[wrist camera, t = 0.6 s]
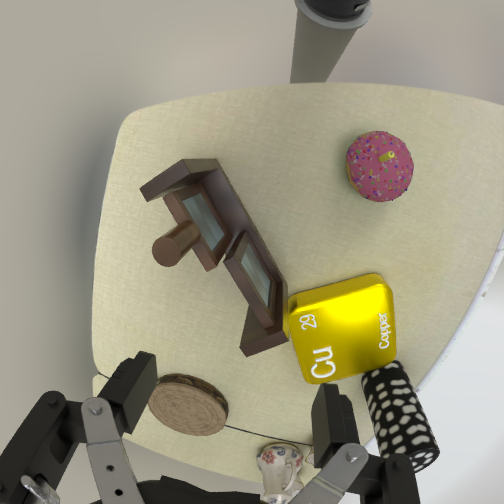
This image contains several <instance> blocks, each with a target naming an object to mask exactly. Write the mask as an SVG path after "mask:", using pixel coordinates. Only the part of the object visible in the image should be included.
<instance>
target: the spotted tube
mask: <svg viewBox="0 0 504 504" xmlns="http://www.w3.org/2000/svg"><path fill="white" fill-rule="evenodd" d="M362 387H363V391H364V394H365V398H366V401H367V405H368V409H369V413H370V416H371V420H372V424H373V428H374V432H375V436H376V440H377V444H378V449H379V453H380V457H384V458H387V457H388V456H390V455H391V454H394V453H402V454H405V455H407V456H408V457H409V458H410V459H411V461H412V463H413V468H414V473H417V472H419V471H421V470H423V469H424V468H426V467H427V466H429V465H430V464H432V463H433V462H434V461H435V460H436V459H437V457H438V456H439V454H440V450H439V448H438V445H437V443H436V440H435V437H434V435H433V433H432V430H431V428H430V425H429V423H428V420H427V418H426V416H425V413H424V411H423V409H422V406H421V404H420V402H419V399H418V397H417V395H416V393H415V391H414V388H413V386H412V384H411V382H410V380H409V378H408V376H407V373H406V371H405V369H404V367H403V365H402V364H401V363H400V362H399V361H396V360H394V361H393V362H392V363H390V364H389V365H387V366H385V367H382V368H379V369H375V370H372V371H369V372H365V374H364V375H363V377H362Z"/></svg>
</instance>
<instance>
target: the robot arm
mask: <svg viewBox="0 0 504 504" xmlns="http://www.w3.org/2000/svg"><path fill="white" fill-rule="evenodd" d="M304 2H305V4H306V5H307V7H308V8H309V9H310V10H311V11H312V12H314V13H315V14H316V15H318V16H320V17H322V18H324V19H327V20H330V21H334V22H349V21H353V20H355V19H357V18H359V17H360V16H361V15H362V13H363V12H364V10H365V7H366V6H368V4H369V3H370V2H369V0H304ZM157 378H158V376H157V366H156V356H155V355H154V354H151V353H147V352H144V351H139V352H138V354H137V355H136V357H135V358H134V359H131V358H128V359H126V360H124V361H123V362H121V363H120V365H119V366H118V367H117V369H116V371H115V372H114V373H113V374H112V377H110V379H109V380H108V382H107V383H106V384H105V386H104V387H103V389H102V390H101V392H100V393H99V394H98V396H97V397H92V398H88V399H87V400H85V401H84V402H74V401H67V400H66V399H65V397H64V395H63V394H62V393H60V392H58V391H48V392H46V393H44V394H43V395H42V396H41V397H40V399H39V400H38V402H37V403H36V404H35V406H34V407H33V408H32V410H31V411H30V413H29V414H28V416H27V417H26V419H25V420H24V421H23V423H22V424H21V426H20V427H19V428H18V430H17V431H16V433H15V434H14V436H13V437H12V439H11V440H10V442H9V443H8V445H7V447H6V448H5V449H4V451H3V453H2V454H1V456H0V504H60V498H59V496H58V494H57V493H56V488H57V486H58V484H59V482H60V480H61V478H62V476H63V474H64V472H65V470H66V468H67V466H68V464H69V462H70V460H71V458H72V456H73V454H74V452H75V450H76V448H77V446H78V444H79V443H87V445H86V447H87V452H88V456H89V460H90V464H91V468H92V471H93V475H94V478H95V482H96V485H97V488H98V491H99V494H100V497H101V499H100V500H98V501H95V502H93V503H91V504H270V503H268V502H265V501H263V500H260V494H252V493H244V492H237V491H235V492H234V491H233V492H208V491H205V490H202V489H200V488H198V487H196V486H194V485H192V484H189V483H187V482H185V481H181V480H177V479H173V478H170V477H167V476H163V475H162V477H161V479H160V480H147V481H142V482H138V481H137V479H136V476H135V474H134V472H133V469H132V467H131V464H130V462H129V459H128V456H127V453H126V450H125V448H124V445H123V442H122V439H121V437H122V435H123V433H124V432H126V433H128V434H132V432H133V430H134V428H135V426H136V424H137V422H138V421H139V419H140V417H141V415H142V413H143V411H144V409H145V407H146V405H147V403H148V401H149V399H150V397H151V395H152V393H153V391H154V389H155V387H156V384H157ZM311 418H312V433H313V451H314V468H321V469H322V470H321V471H320V472H319V473H318V474H317V475H316V476H315V477H314V478H313V479H312V480H311V481H310V482H309V483H308V484H307V485H306V486H305V487H304V488H303V489H302V490H301V491H300V492H299V493H298V494H297V495H296V496H295V497H294V498H293V499H292V500H291V501H290V502H289V503H288V504H338V502H339V501H340V500H341V499H342V497H343V496H344V493H345V492H350V493H355V494H359V495H360V504H420V498H419V493H418V487H417V482H416V478H415V473H414V468H413V463H412V461H411V459H410V458H409V457H408V456H407V455H405V454H402V453H394V454H391V455H390V456H388V457H387V458H384V457H379V456H374V455H371V454H369V453H368V452H367V450H366V449H365V448H364V447H363V446H362V445H360V441H359V436H358V431H357V426H356V421H355V419H354V418H355V416H354V412H353V407H352V403H351V401H350V400H349V398H348V397H347V396H346V395H339V389H338V385H337V384H328V383H321V385H320V387H319V390H318V392H317V395H316V397H315V400H314V402H313V405H312V411H311Z"/></svg>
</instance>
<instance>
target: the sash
mask: <svg viewBox="0 0 504 504" xmlns="http://www.w3.org/2000/svg"><path fill="white" fill-rule="evenodd" d="M163 200H164V201H165V203H166V205H167V207H168V208H169V210H170V212H171V214H172V215H173V217H174V219H175V220H176V222H177V224H178V225H177V226H176V227H174V228H173V229H171V230H170V231H168V232H167V233H165V234H164V235H163V236H161V237H160V238H158V239H157V240H156V241H155V242H154V244H153V247H152V253H153V256H154V258H155V260H156V261H157V262H158V263H159V264H160V265H162V266H165V267H171V266H174V265H176V264H177V263H178V262H179V261H180V260H181V259H182V258H183V257H184V256H185V254H186V253H187V252H188V251H189V250H190V249H191V248H192V249H193V250H194V252H195V254H196V255H197V257H198V259H199V260H200V262H201V263H202V265H203V267H204V268H205V270H206V271H207V272H208V271H210V270H212V269H214V268H216V267H217V265H218V263H219V262H220V260H221V258H222V256H223V255H224V253H225V251H226V250H227V248H228V246H229V245H230V243H231V241H232V239H233V238H232V236H231V234H230V232H229V231H228V229H227V227H226V226H225V224H224V222H223V220H222V219H221V217H220V215H219V213H218V212H217V210H216V208H215V207H214V205H213V203H212V201H211V200H210V198H209V196H208V194H207V193H206V191H205V189H204V187H203V186H202V184H201V183H197V184H194V185H190V186H187V187H184V188H181V189H178V190H175V191H172V192H170V193H169V194H167V195H166V196H164V197H163Z"/></svg>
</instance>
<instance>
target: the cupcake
mask: <svg viewBox="0 0 504 504" xmlns="http://www.w3.org/2000/svg"><path fill="white" fill-rule="evenodd" d="M346 158H347V161H346V171H347V174H348V179H349V181H350V183H351V185H352V186H353V187H354V188H355V189H356V190H357V191H358V192H359V193H360V194H361V195H362V196H363V197H364V198H366V199H369V200H372V201H376V202H384V201H390V200H392V201H393V200H394V199H396V198H397V197H399V196H401V195H402V194H403V193H404V191H407V187H408V186H409V184H410V182H411V179H412V175H413V168H414V164H413V161H412V158H411V153H410V152H409V151H408V149H407V147H406V146H405V143H403V142H402V141H401V140H400V139H398V138H396V137H395V136H393V135H391V134H389V133H388V132H384V131H372V132H368V133H365V134H363V135H361V136H359V137H358V138H357V139H356V140H355V141H354V143H353V144H352V145H351V146H350V147H349V149H348V152H347V157H346Z"/></svg>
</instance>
